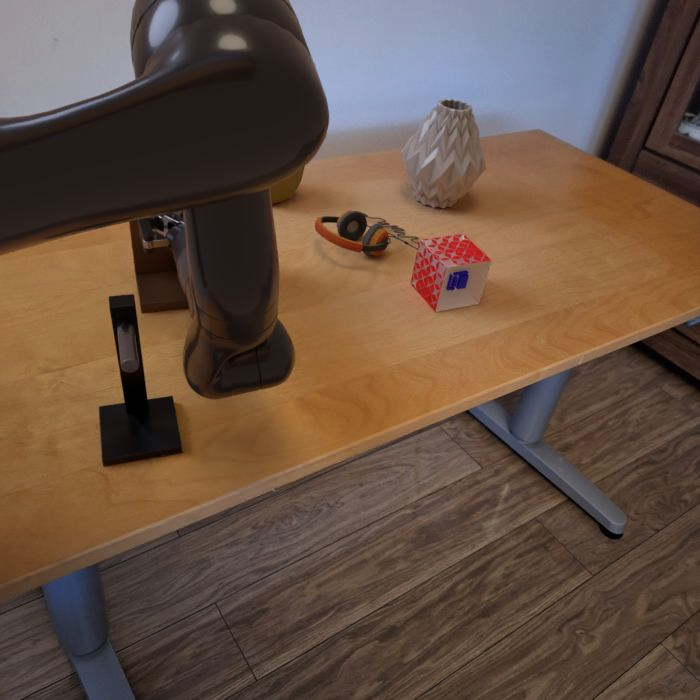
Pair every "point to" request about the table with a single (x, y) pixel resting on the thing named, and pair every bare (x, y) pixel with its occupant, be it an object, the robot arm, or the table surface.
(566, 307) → the table surface
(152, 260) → the rack
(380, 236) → the headphones
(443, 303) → the red patterned cube
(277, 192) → the flower pot
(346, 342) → the table surface
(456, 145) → the vase
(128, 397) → the holder
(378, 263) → the table surface
